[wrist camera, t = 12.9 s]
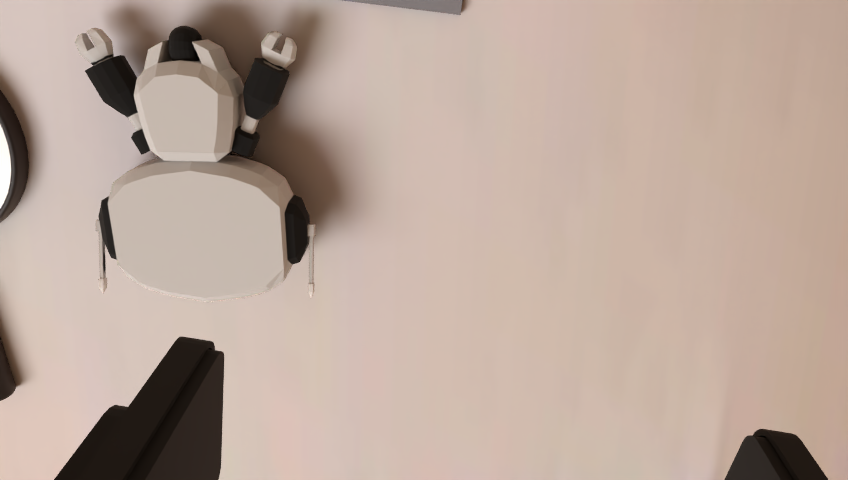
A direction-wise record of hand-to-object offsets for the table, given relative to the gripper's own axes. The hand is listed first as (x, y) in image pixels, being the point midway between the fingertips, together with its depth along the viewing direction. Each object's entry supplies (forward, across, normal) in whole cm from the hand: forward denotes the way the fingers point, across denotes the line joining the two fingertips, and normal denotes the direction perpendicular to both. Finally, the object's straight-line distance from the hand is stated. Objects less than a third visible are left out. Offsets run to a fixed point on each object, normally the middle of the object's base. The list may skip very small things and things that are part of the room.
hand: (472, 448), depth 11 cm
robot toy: (+27, +14, +5) cm, 30 cm away
